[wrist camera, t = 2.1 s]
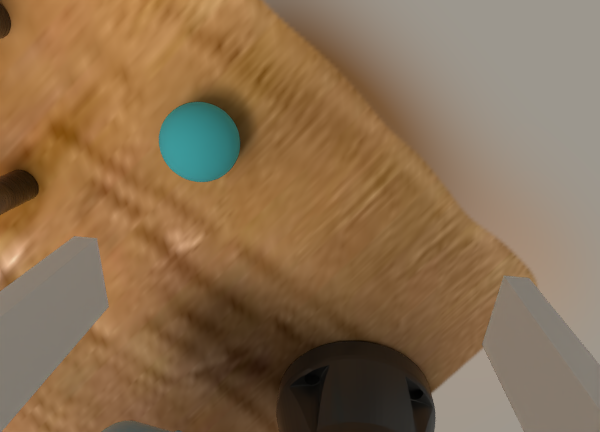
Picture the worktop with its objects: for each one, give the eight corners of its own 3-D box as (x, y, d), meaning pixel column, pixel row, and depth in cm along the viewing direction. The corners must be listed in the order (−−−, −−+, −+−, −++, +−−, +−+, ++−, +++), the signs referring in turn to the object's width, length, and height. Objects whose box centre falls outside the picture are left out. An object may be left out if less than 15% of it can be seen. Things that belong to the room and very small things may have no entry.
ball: (249, 102, 29) (231, 114, 24) (245, 173, 31) (228, 197, 26) (175, 92, 29) (142, 102, 24) (177, 164, 31) (147, 187, 26)
